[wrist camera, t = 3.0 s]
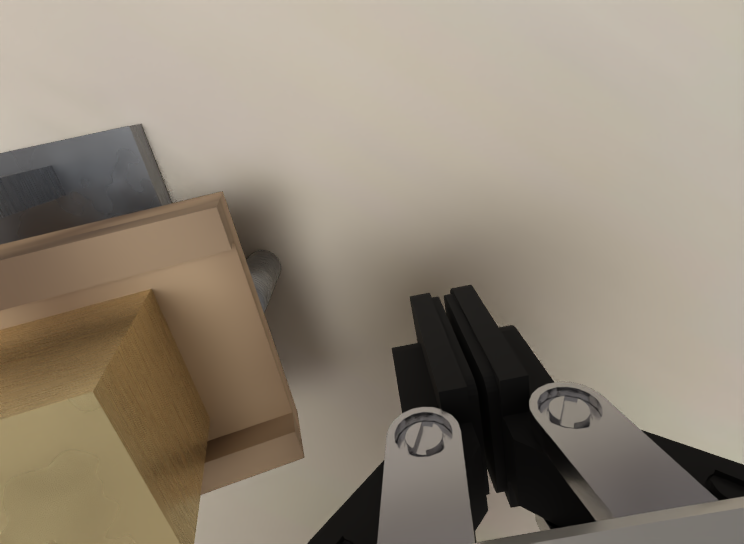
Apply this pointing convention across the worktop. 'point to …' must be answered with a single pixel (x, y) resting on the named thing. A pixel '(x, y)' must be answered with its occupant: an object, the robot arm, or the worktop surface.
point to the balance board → (175, 316)
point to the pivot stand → (93, 190)
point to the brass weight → (99, 429)
